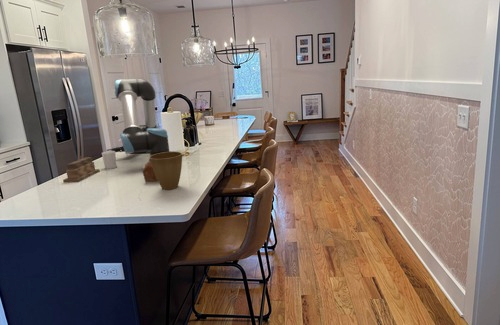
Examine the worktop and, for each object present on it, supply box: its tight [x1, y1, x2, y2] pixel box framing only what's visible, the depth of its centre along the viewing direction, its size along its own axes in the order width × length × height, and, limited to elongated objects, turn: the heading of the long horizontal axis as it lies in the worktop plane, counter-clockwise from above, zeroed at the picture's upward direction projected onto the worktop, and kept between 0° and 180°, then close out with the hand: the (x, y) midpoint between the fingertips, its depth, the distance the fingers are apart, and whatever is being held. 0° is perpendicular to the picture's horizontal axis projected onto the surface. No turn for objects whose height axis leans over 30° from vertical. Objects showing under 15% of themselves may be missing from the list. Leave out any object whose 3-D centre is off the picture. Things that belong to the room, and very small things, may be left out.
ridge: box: [62, 156, 100, 183], centre depth 191 cm, size 22×9×10 cm, turn 176°
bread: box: [142, 160, 159, 183], centre depth 178 cm, size 19×11×10 cm, turn 2°
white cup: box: [101, 150, 118, 170], centre depth 209 cm, size 8×8×10 cm
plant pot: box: [148, 151, 183, 191], centre depth 156 cm, size 15×15×16 cm
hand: (116, 153), depth 219 cm, fingers open, 13 cm apart
